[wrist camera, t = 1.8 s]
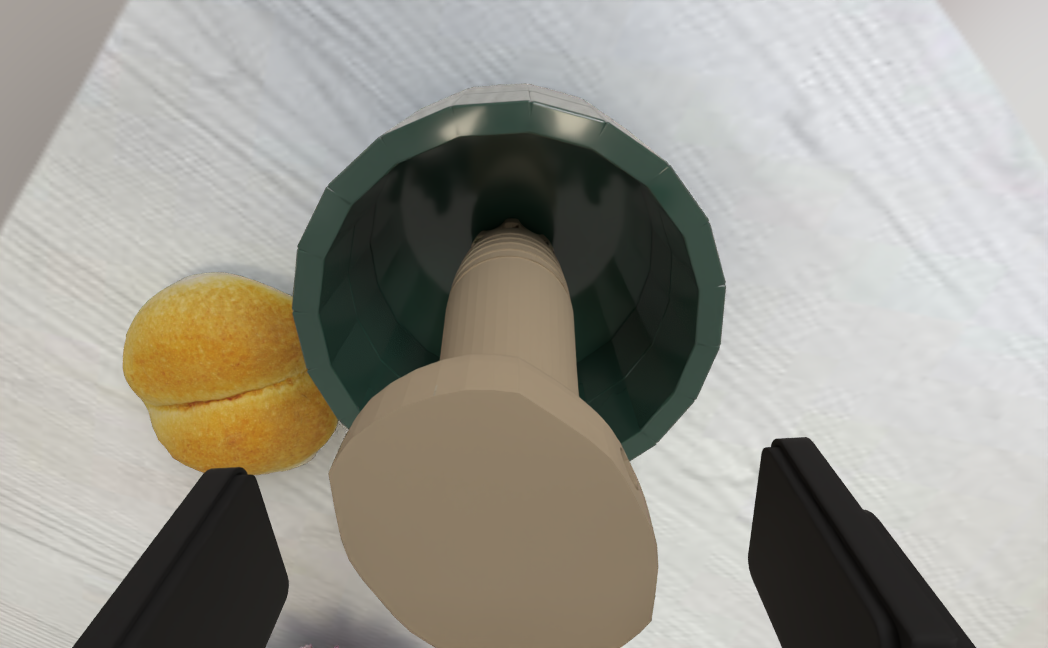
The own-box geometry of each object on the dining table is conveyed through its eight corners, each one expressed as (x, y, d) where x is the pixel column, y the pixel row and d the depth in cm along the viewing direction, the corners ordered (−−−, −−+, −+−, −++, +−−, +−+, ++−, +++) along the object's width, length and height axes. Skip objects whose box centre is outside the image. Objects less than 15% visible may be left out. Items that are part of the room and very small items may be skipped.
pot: (324, 96, 21) (240, 119, 15) (676, 72, 21) (745, 85, 14) (382, 394, 26) (340, 504, 20) (662, 378, 26) (708, 484, 20)
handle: (531, 153, 22) (552, 341, 8) (599, 298, 24) (703, 625, 11) (418, 211, 22) (265, 465, 9) (495, 344, 25) (466, 701, 11)
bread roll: (303, 251, 24) (264, 289, 20) (363, 432, 27) (340, 491, 24) (108, 281, 24) (35, 323, 20) (194, 455, 28) (146, 516, 24)
